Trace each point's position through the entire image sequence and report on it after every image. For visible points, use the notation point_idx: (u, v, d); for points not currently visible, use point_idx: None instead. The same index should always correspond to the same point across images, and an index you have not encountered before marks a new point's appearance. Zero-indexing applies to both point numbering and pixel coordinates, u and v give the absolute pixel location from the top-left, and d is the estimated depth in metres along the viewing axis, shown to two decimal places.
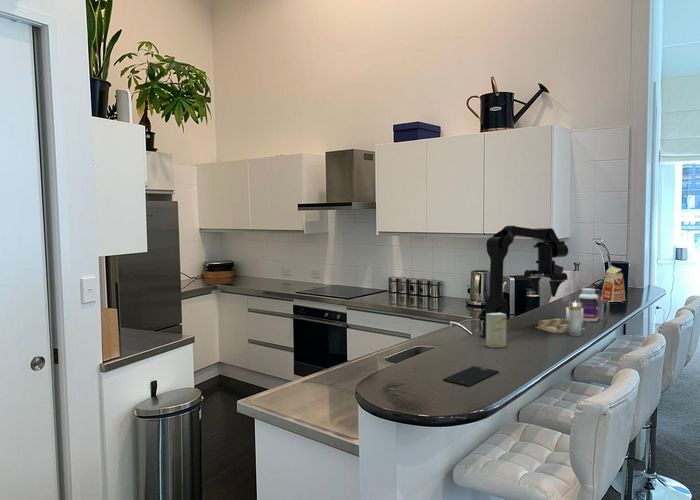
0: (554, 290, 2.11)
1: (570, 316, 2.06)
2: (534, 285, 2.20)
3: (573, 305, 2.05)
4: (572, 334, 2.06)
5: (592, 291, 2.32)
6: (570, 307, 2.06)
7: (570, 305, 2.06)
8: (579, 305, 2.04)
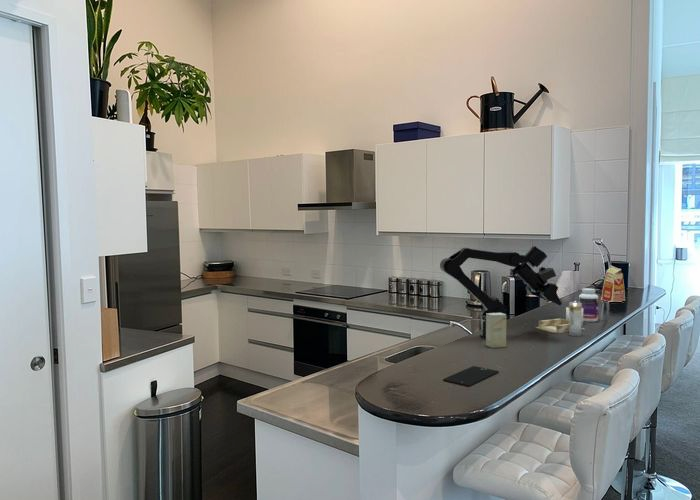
0: (555, 301, 2.00)
1: (570, 316, 2.06)
2: (541, 296, 2.11)
3: (573, 305, 2.05)
4: (572, 334, 2.06)
5: (592, 291, 2.32)
6: (570, 307, 2.06)
7: (570, 305, 2.06)
8: (579, 305, 2.04)
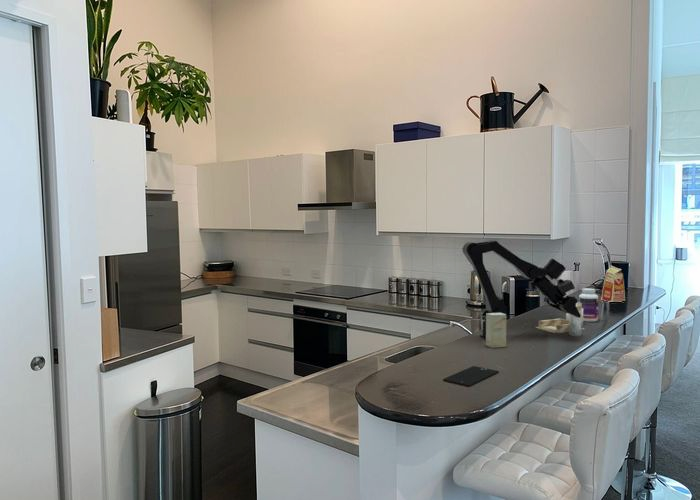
0: (575, 314, 2.01)
1: (570, 316, 2.06)
2: (560, 308, 2.11)
3: None
4: (572, 334, 2.06)
5: (592, 291, 2.32)
6: None
7: None
8: (579, 305, 2.04)
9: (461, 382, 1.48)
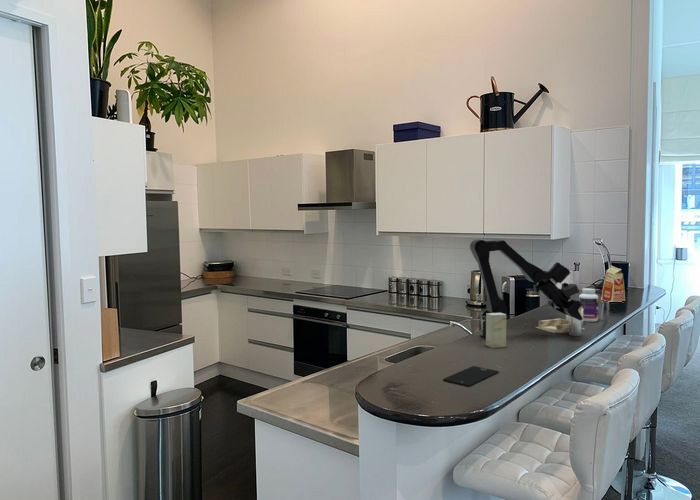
0: (576, 317, 2.03)
1: (570, 316, 2.06)
2: (566, 313, 2.09)
3: None
4: (572, 334, 2.06)
5: (592, 291, 2.32)
6: None
7: None
8: None
9: (461, 382, 1.48)
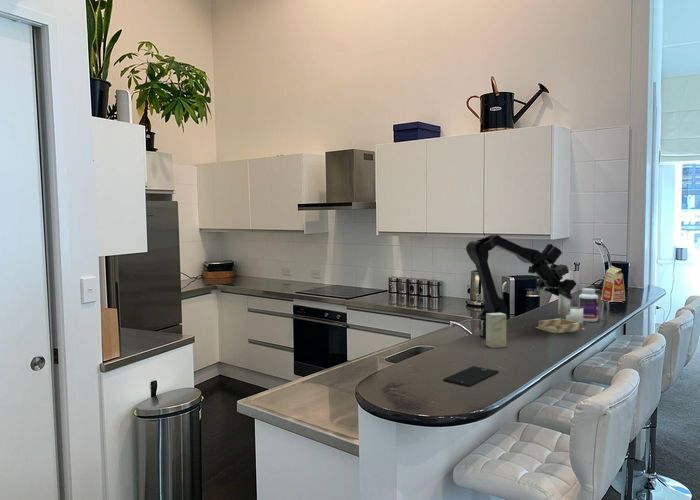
0: (567, 296, 2.12)
1: (560, 296, 2.14)
2: (555, 293, 2.17)
3: None
4: (563, 313, 2.14)
5: (592, 291, 2.32)
6: None
7: None
8: None
9: (461, 382, 1.48)
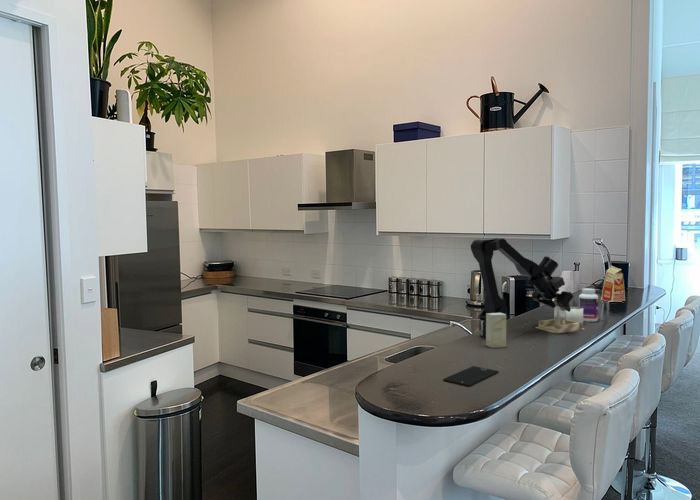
0: (567, 308, 2.13)
1: (556, 310, 2.17)
2: (548, 304, 2.21)
3: None
4: None
5: (592, 291, 2.32)
6: None
7: None
8: None
9: (461, 382, 1.48)
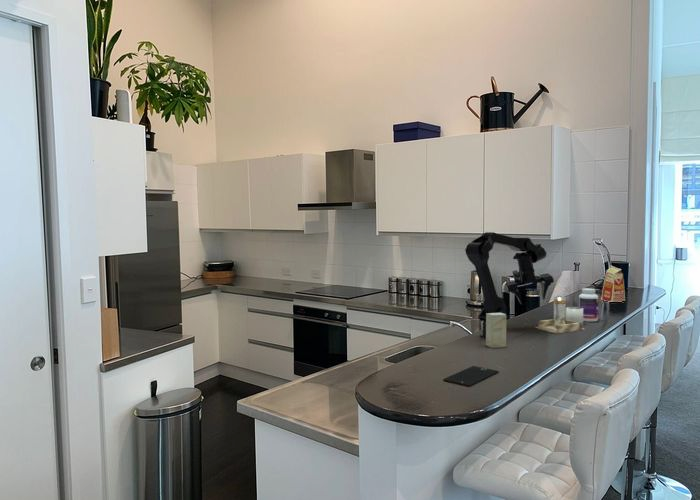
0: None
1: (556, 310, 2.17)
2: (520, 296, 2.16)
3: (559, 299, 2.16)
4: None
5: (592, 291, 2.32)
6: (556, 301, 2.17)
7: (556, 300, 2.17)
8: (564, 299, 2.16)
9: (461, 382, 1.48)
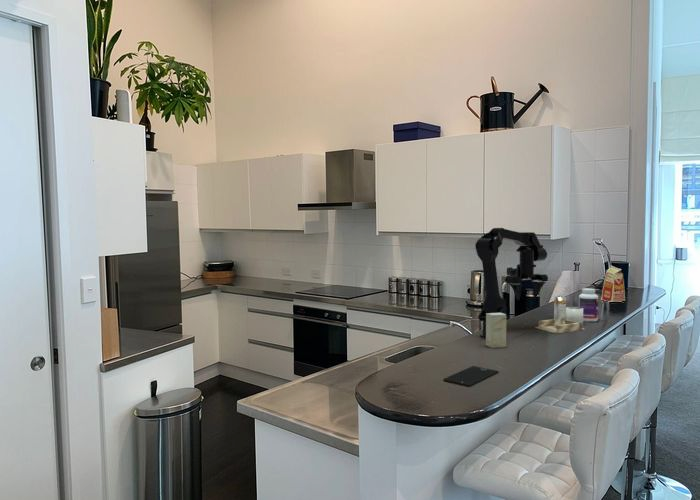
0: None
1: (556, 310, 2.17)
2: None
3: (560, 299, 2.16)
4: None
5: (592, 291, 2.32)
6: (556, 301, 2.17)
7: (556, 299, 2.17)
8: (565, 299, 2.16)
9: (461, 382, 1.48)
